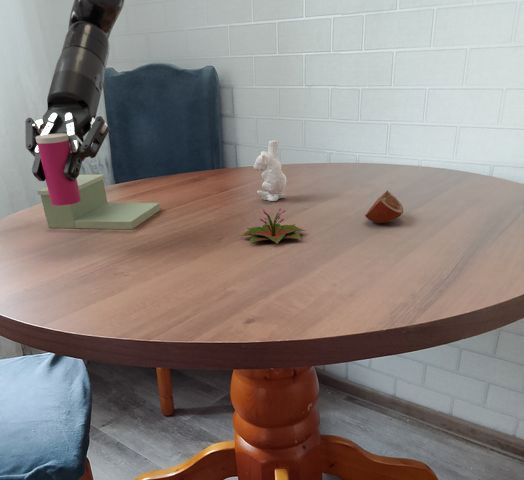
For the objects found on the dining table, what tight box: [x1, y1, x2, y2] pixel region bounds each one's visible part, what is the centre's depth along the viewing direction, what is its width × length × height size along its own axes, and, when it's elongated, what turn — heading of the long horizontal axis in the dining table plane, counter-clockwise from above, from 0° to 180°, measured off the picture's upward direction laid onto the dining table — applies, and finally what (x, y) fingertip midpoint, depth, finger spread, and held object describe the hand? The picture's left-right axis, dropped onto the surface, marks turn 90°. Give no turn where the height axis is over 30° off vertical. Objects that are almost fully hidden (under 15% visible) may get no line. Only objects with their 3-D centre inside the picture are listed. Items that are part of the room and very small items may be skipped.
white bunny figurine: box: [253, 139, 288, 202], centre depth 115 cm, size 8×7×12 cm
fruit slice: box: [364, 189, 404, 224], centre depth 97 cm, size 8×7×5 cm
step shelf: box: [36, 174, 161, 230], centre depth 109 cm, size 15×18×7 cm
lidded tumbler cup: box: [35, 133, 81, 205], centre depth 84 cm, size 5×5×10 cm
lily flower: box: [241, 208, 307, 245], centre depth 93 cm, size 12×12×5 cm
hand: (54, 177), depth 83 cm, fingers closed on lidded tumbler cup, 4 cm apart
